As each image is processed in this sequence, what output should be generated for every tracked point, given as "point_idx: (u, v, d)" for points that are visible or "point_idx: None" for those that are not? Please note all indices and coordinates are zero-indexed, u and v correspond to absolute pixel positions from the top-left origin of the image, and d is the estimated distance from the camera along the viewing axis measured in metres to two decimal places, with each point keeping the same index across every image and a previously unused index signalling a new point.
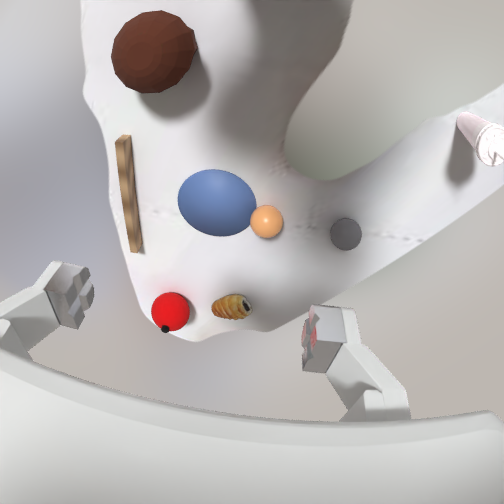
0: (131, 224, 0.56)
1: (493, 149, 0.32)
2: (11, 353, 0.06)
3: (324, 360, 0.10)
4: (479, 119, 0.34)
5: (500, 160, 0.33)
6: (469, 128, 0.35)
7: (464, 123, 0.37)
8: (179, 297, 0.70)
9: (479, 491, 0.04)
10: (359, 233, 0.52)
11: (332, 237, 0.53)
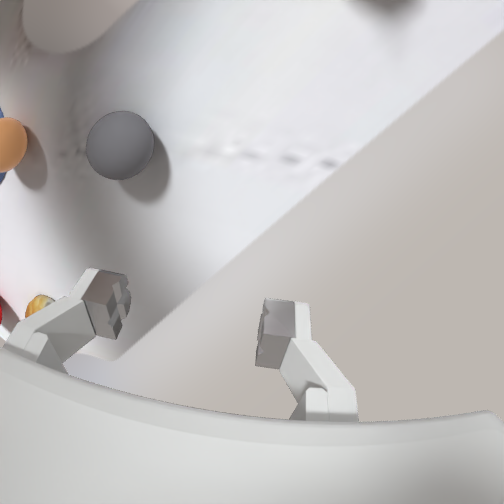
0: None
1: None
2: (11, 353, 0.06)
3: (275, 355, 0.10)
4: None
5: None
6: None
7: None
8: None
9: (479, 491, 0.04)
10: (132, 130, 0.20)
11: None
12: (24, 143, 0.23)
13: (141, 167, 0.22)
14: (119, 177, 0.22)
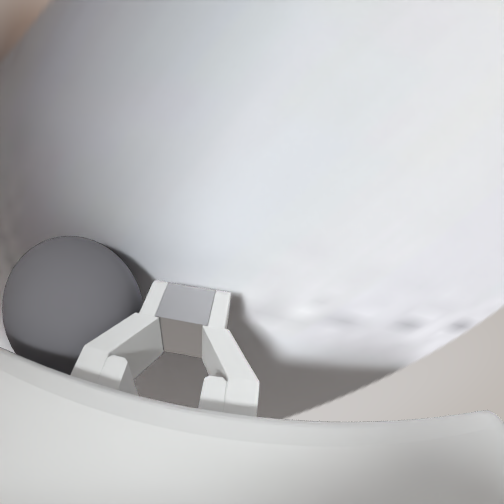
0: None
1: None
2: (11, 353, 0.06)
3: (194, 343, 0.10)
4: None
5: None
6: None
7: None
8: None
9: (479, 491, 0.04)
10: (84, 323, 0.08)
11: None
12: None
13: None
14: None
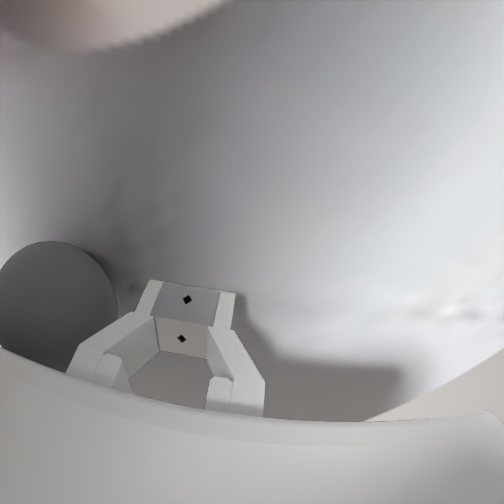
0: None
1: None
2: (11, 353, 0.06)
3: (198, 344, 0.10)
4: None
5: None
6: None
7: None
8: None
9: (479, 491, 0.04)
10: None
11: None
12: None
13: None
14: None
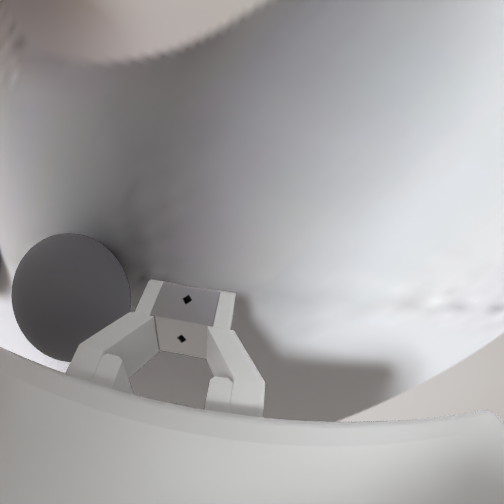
0: None
1: None
2: (11, 353, 0.06)
3: (198, 344, 0.10)
4: None
5: None
6: None
7: None
8: None
9: (479, 491, 0.04)
10: None
11: None
12: None
13: None
14: None
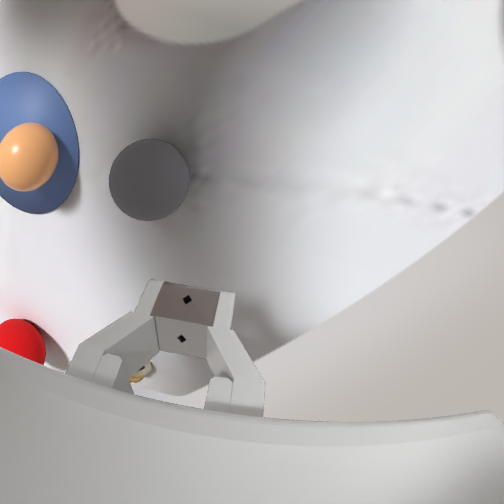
0: None
1: None
2: (11, 353, 0.06)
3: (198, 344, 0.10)
4: None
5: None
6: None
7: None
8: (24, 328, 0.34)
9: (479, 491, 0.04)
10: (114, 160, 0.19)
11: None
12: (2, 172, 0.17)
13: None
14: None
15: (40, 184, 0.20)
